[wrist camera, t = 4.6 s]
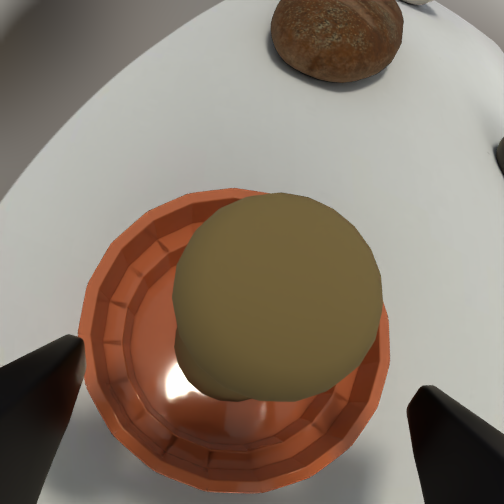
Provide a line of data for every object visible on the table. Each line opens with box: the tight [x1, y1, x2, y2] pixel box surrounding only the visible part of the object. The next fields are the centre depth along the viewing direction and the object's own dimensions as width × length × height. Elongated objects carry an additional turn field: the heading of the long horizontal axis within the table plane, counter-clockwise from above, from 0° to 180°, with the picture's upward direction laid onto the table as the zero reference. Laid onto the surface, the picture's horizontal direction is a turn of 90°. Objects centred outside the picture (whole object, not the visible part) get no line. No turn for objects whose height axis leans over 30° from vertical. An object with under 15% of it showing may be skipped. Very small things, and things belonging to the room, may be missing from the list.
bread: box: [271, 0, 404, 83], centre depth 31 cm, size 16×36×8 cm, turn 156°
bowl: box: [78, 188, 390, 493], centre depth 15 cm, size 14×14×4 cm
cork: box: [172, 193, 383, 402], centre depth 11 cm, size 6×6×11 cm
